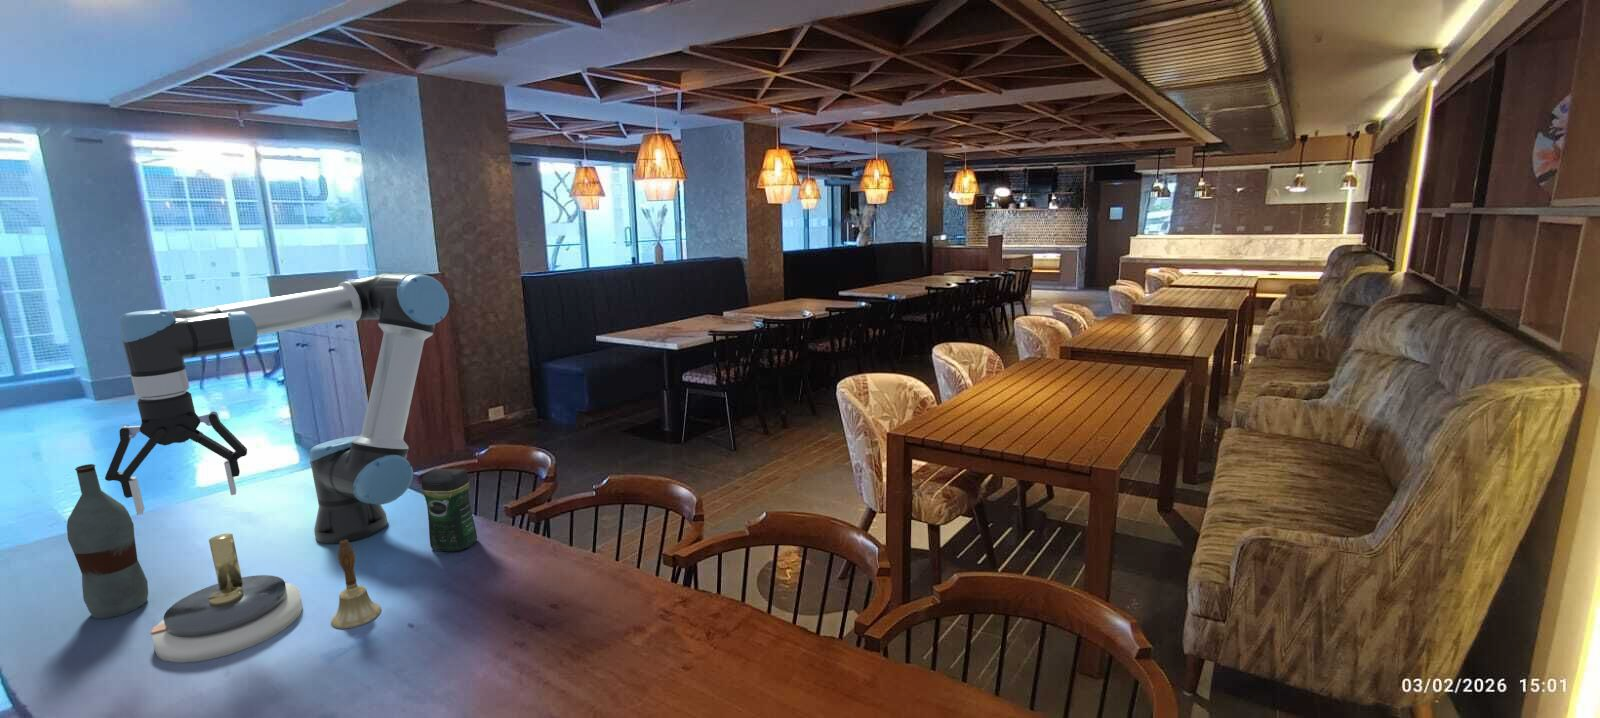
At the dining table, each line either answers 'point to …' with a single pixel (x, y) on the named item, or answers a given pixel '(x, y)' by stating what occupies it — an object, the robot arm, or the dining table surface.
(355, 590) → the hand bell
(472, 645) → the dining table surface
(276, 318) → the robot arm
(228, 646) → the wheel base
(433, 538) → the coffee jar
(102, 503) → the bottle
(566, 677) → the dining table surface
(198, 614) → the handwheel
